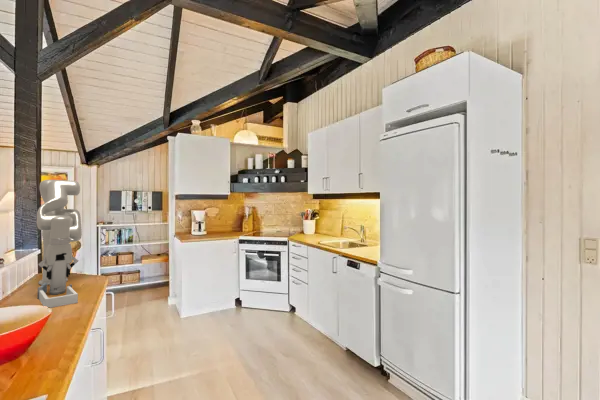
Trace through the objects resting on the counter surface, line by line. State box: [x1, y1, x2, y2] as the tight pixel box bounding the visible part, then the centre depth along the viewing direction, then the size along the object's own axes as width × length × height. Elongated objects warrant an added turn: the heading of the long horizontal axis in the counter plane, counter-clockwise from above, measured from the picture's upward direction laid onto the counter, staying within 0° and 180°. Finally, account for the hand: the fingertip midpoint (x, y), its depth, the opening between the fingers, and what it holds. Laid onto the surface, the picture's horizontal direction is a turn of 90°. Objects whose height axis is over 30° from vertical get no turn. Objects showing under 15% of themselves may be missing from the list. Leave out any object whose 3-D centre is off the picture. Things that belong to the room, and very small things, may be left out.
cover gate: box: [36, 283, 48, 300], centre depth 145 cm, size 1×11×5 cm, turn 28°
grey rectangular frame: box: [38, 283, 79, 309], centre depth 139 cm, size 18×12×4 cm
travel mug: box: [48, 253, 67, 296], centre depth 149 cm, size 6×7×20 cm
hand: (58, 277), depth 149 cm, fingers closed on travel mug, 6 cm apart
